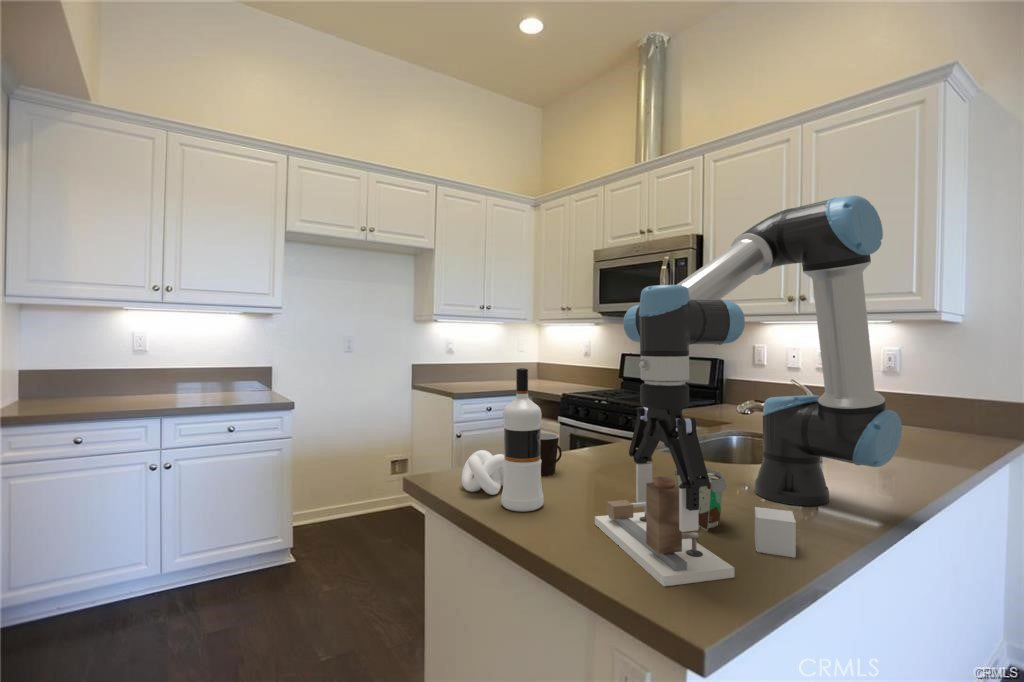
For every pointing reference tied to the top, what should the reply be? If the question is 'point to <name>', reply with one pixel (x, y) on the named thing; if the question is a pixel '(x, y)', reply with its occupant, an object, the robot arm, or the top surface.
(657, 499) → the sliding handle
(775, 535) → the white cube
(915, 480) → the top surface
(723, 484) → the food container
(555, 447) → the coffee mug
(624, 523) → the board
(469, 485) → the white decorative knot
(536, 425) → the vodka
